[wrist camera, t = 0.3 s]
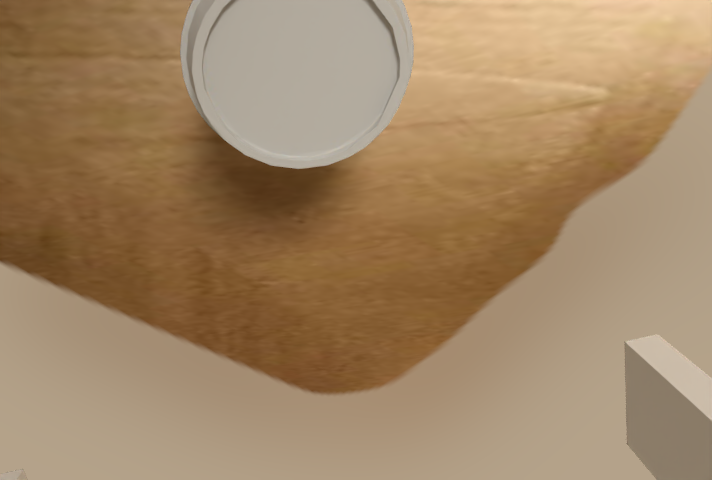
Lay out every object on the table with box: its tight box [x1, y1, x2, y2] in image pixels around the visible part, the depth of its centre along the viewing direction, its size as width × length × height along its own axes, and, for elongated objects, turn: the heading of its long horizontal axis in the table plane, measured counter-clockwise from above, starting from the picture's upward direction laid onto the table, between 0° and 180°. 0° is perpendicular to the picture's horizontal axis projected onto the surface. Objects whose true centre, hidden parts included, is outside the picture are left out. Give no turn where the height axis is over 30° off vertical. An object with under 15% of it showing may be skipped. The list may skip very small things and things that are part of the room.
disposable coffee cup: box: [180, 0, 414, 169], centre depth 30 cm, size 10×10×12 cm
